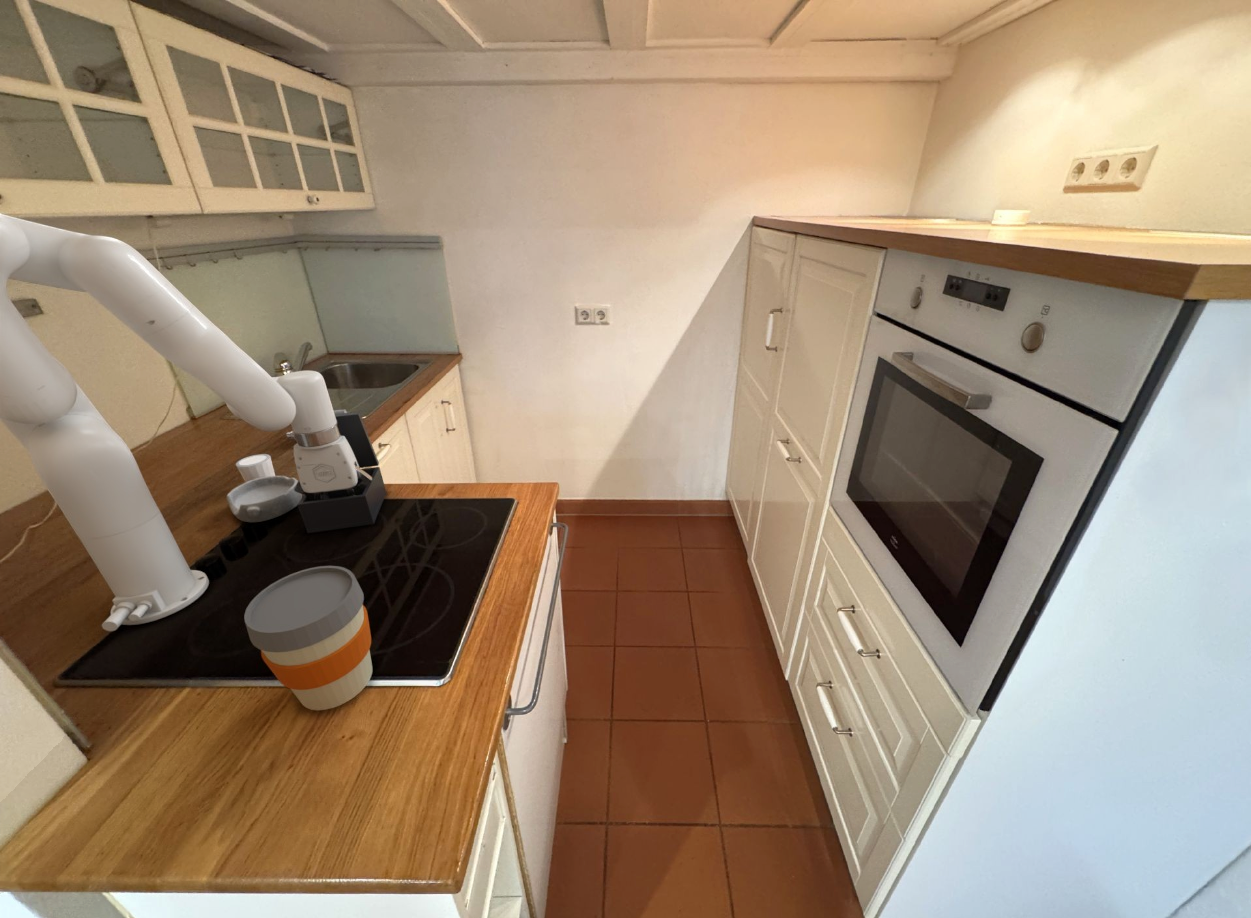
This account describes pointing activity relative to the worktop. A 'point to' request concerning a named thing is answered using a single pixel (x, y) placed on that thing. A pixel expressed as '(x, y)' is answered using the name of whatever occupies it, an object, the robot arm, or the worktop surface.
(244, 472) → the white fluted cup
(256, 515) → the dish
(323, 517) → the dark grey storage bin
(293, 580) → the reusable coffee cup
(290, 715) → the worktop surface
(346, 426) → the lid
